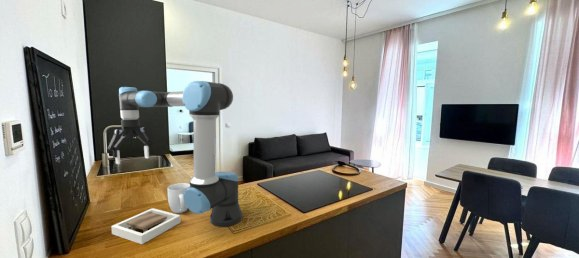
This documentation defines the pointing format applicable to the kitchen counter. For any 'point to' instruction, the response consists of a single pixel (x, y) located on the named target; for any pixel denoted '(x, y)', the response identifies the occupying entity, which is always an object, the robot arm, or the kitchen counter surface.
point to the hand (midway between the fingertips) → (133, 160)
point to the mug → (177, 197)
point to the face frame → (141, 238)
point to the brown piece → (146, 221)
